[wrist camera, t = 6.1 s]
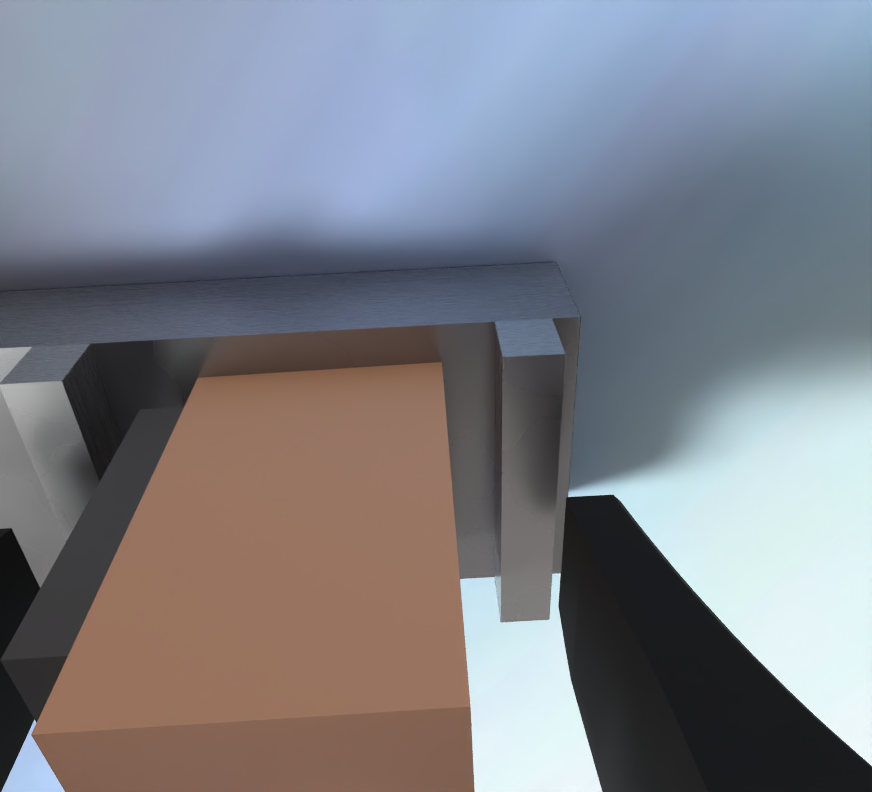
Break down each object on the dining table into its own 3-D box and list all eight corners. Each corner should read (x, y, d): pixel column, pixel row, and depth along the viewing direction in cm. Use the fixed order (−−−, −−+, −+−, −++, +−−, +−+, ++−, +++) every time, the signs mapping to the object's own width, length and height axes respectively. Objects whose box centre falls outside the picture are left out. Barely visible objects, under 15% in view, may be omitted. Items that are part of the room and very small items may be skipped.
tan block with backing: (451, 541, 12) (479, 910, 8) (210, 556, 12) (92, 934, 8) (441, 361, 10) (469, 706, 6) (156, 379, 10) (-44, 738, 6)
